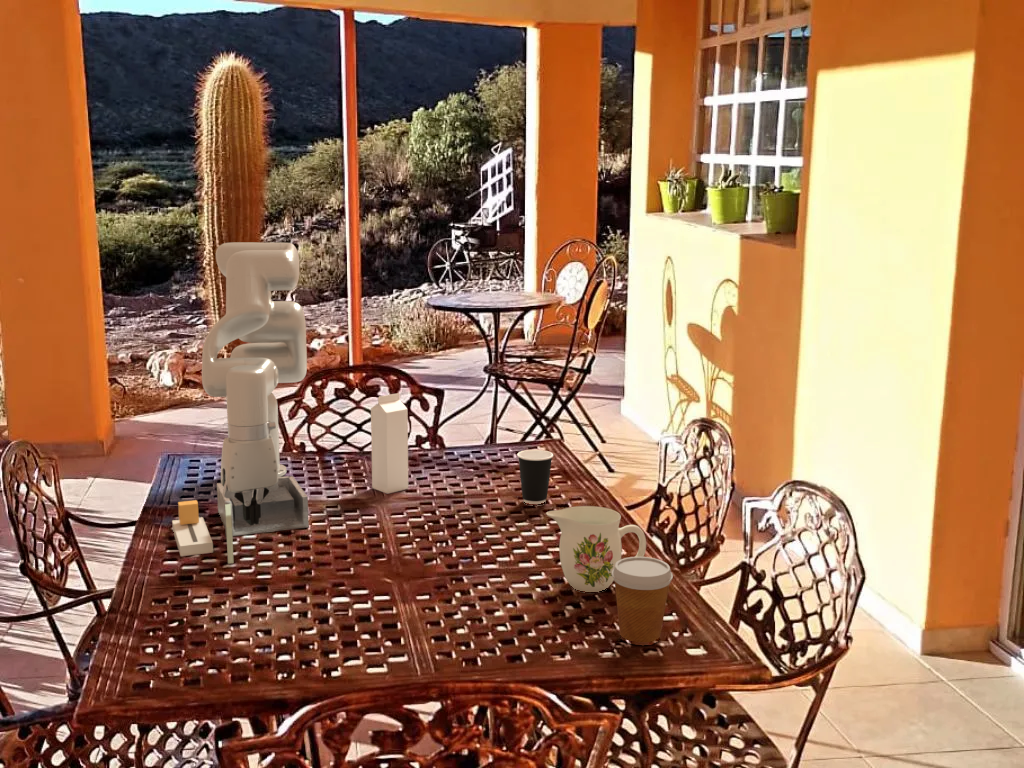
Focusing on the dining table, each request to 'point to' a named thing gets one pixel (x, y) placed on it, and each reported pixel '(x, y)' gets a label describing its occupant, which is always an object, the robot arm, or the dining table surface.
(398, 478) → the milk
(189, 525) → the fader panel
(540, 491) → the dixie cup
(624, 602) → the disposable coffee cup
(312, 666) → the dining table surface
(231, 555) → the door
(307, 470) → the dining table surface
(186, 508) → the fader knob
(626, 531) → the pitcher
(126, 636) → the dining table surface
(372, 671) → the dining table surface
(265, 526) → the grey open tray
